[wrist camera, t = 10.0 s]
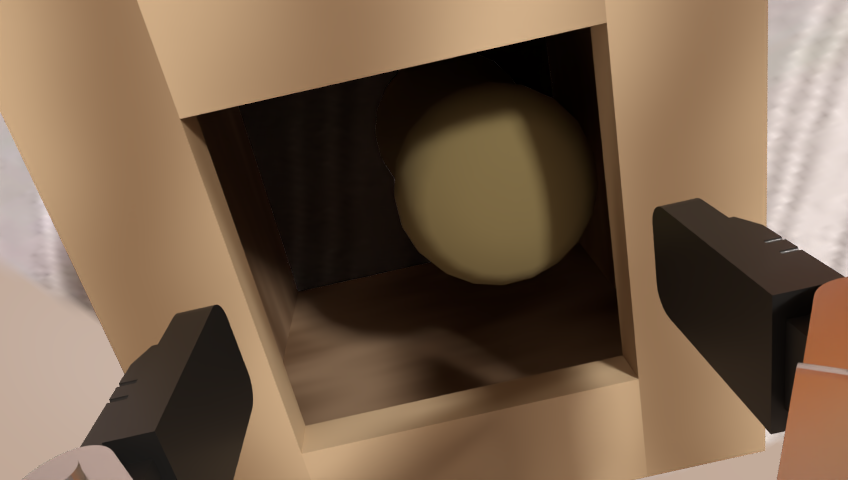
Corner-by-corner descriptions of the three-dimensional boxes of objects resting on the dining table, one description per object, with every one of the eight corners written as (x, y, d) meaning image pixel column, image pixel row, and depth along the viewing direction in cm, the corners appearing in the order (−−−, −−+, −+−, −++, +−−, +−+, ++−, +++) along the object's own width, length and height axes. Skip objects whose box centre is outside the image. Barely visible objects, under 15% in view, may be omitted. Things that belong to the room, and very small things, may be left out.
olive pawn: (441, 231, 27) (486, 365, 16) (342, 120, 25) (322, 191, 14) (556, 136, 26) (682, 214, 15) (463, 14, 24) (534, 9, 14)
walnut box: (555, -110, 22) (769, -207, 10) (595, 246, 28) (765, 450, 16) (167, -22, 23) (-62, -19, 11) (282, 316, 28) (218, 571, 16)
